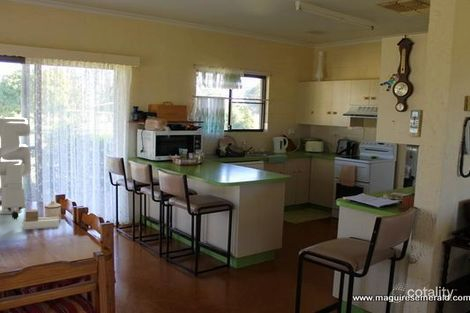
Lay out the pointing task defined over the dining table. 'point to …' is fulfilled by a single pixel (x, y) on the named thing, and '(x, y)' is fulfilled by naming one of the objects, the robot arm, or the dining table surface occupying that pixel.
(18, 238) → the dining table surface
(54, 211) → the teacup with lid
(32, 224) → the cream rectangular tray
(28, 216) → the walnut block
